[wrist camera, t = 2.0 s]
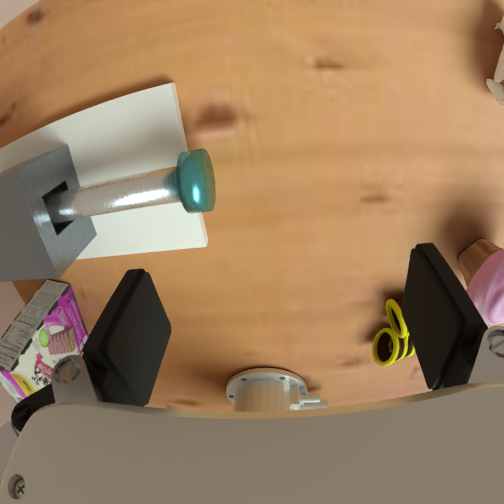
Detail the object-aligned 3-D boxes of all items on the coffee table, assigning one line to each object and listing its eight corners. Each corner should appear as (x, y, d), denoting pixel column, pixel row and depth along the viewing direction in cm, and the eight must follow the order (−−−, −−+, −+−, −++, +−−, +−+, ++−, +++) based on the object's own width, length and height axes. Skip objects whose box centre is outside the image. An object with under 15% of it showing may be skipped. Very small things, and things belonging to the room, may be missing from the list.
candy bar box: (92, 338, 42) (49, 424, 29) (67, 332, 43) (23, 412, 29) (72, 281, 36) (9, 374, 23) (45, 277, 37) (-18, 360, 23)
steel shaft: (207, 142, 24) (193, 157, 20) (218, 197, 26) (207, 222, 22) (18, 190, 27) (-9, 209, 23) (32, 228, 29) (8, 250, 25)
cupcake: (434, 258, 31) (472, 318, 23) (485, 208, 27) (536, 256, 19) (463, 295, 34) (495, 350, 25) (508, 252, 30) (548, 300, 21)
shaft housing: (67, 144, 26) (16, 170, 19) (97, 234, 31) (59, 278, 24) (1, 171, 27) (-43, 199, 20) (29, 245, 32) (-7, 281, 26)
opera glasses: (398, 339, 39) (413, 364, 35) (366, 346, 39) (380, 374, 35) (419, 285, 34) (439, 311, 30) (384, 291, 34) (403, 319, 30)
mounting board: (174, 82, 24) (170, 82, 23) (208, 240, 32) (206, 246, 31) (-7, 152, 27) (-13, 155, 26) (33, 259, 35) (29, 264, 34)
